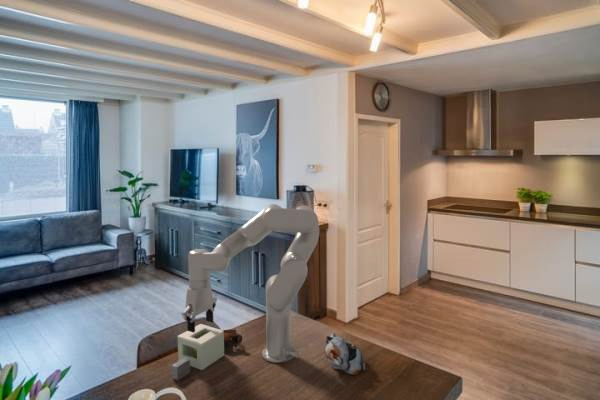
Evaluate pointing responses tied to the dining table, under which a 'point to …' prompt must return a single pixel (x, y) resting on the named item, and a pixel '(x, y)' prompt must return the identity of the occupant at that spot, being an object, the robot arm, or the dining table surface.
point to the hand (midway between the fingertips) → (200, 326)
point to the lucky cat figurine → (344, 355)
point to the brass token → (194, 353)
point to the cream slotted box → (201, 346)
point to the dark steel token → (180, 369)
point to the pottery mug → (230, 342)
